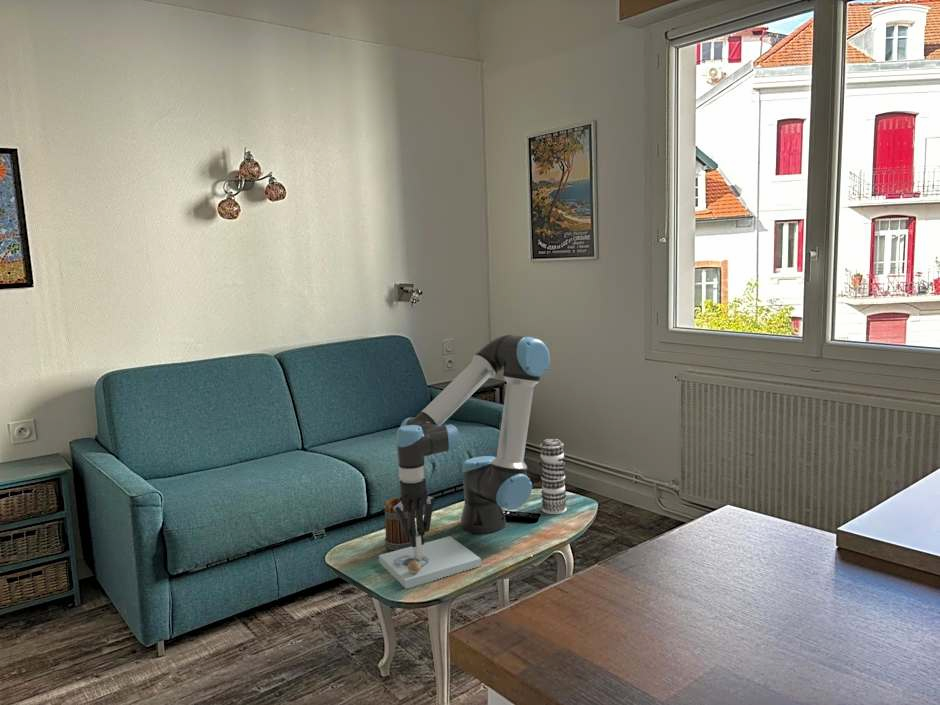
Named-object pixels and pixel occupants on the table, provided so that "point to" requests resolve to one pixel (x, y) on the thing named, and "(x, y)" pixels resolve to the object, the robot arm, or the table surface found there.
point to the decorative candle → (553, 476)
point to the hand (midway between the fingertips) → (418, 555)
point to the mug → (395, 527)
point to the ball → (408, 561)
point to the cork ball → (414, 566)
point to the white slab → (430, 561)
